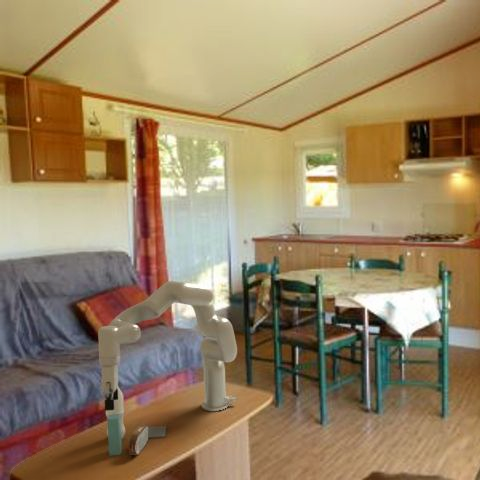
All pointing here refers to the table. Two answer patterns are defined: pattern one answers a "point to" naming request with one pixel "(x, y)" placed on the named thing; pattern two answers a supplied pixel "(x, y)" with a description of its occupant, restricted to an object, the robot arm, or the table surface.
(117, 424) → the stick
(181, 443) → the table surface
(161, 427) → the mat
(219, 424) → the table surface
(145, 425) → the tin
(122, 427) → the water bottle
